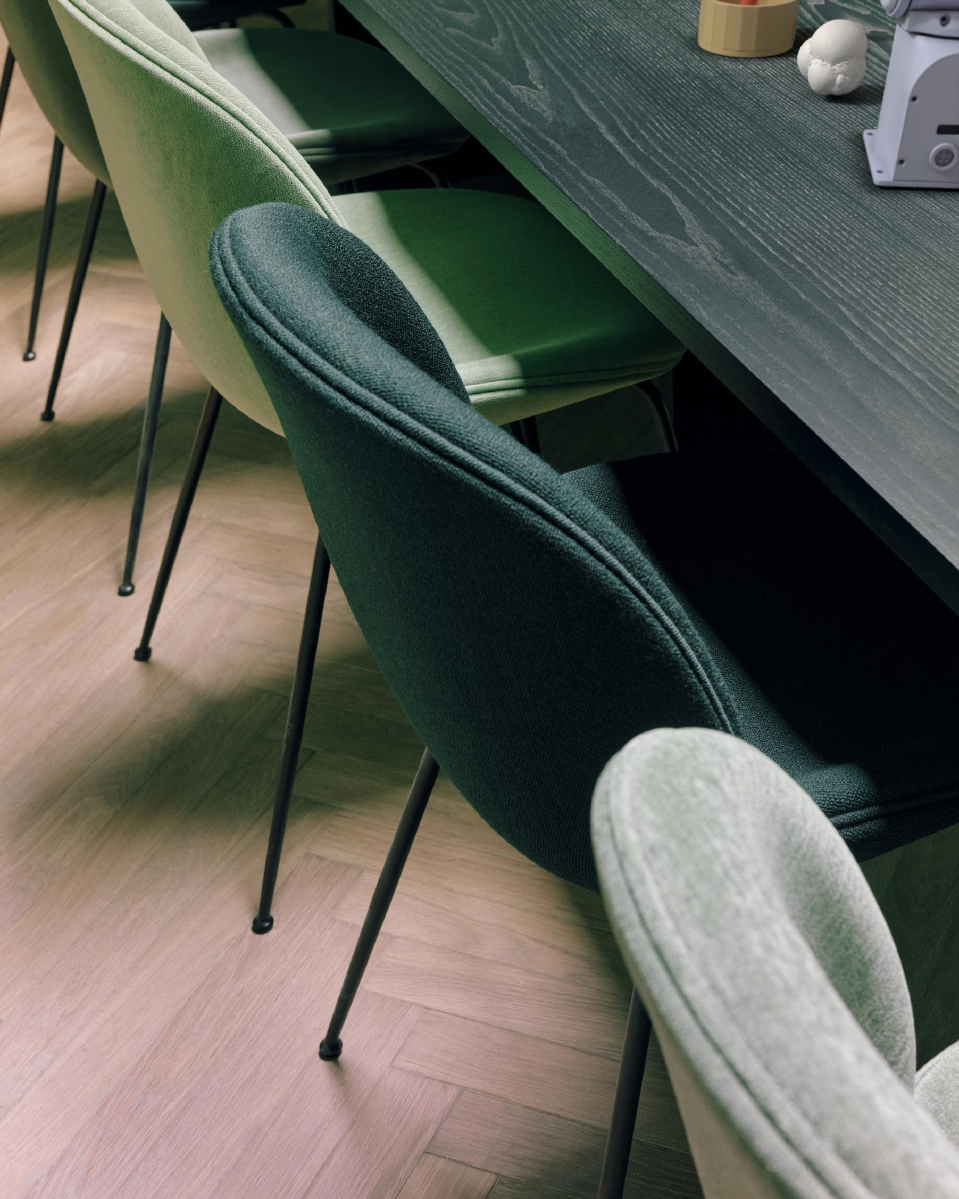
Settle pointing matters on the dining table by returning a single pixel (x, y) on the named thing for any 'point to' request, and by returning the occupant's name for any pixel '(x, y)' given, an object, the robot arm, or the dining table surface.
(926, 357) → the dining table surface
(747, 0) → the straw
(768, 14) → the tumbler
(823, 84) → the microfossil shell
